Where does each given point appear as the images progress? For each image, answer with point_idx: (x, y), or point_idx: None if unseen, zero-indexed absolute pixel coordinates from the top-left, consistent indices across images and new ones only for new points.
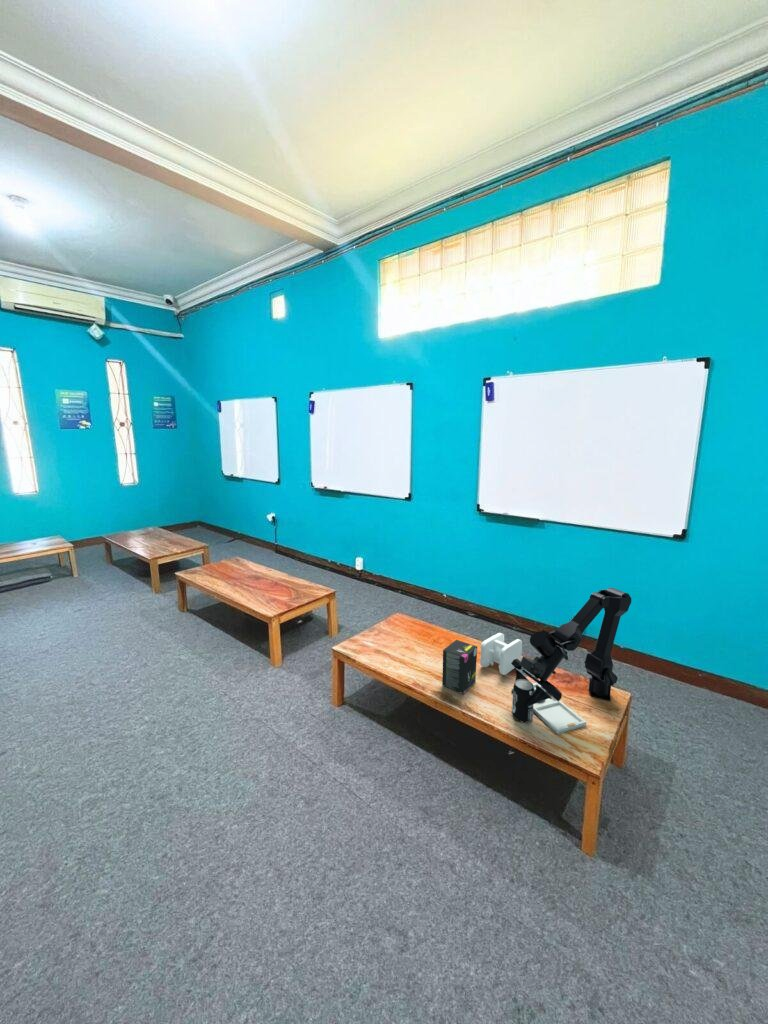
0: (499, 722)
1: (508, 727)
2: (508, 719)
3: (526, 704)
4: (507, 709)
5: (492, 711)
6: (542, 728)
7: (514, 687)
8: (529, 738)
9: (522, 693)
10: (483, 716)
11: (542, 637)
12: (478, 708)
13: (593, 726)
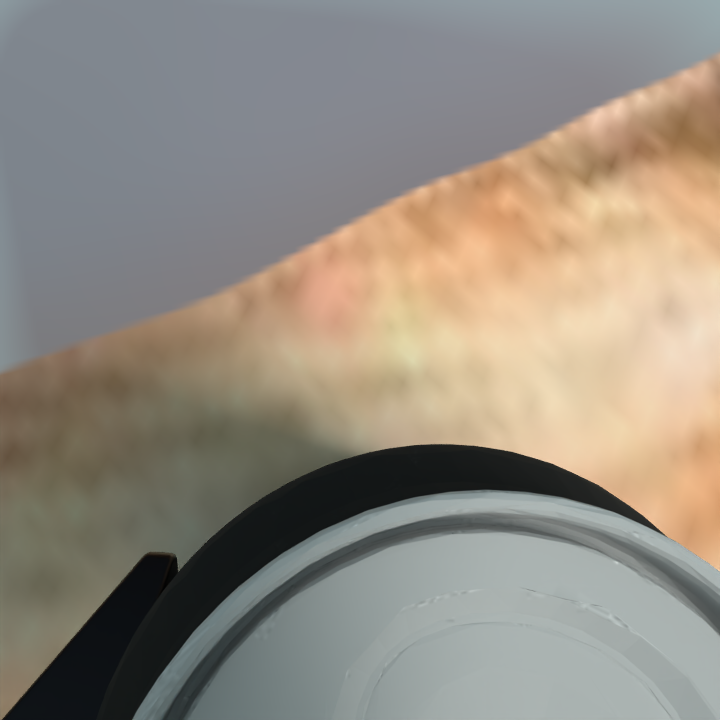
0: (393, 273)
1: (282, 305)
2: (389, 403)
3: (162, 555)
4: None
5: (577, 333)
6: None
7: (584, 487)
8: (24, 389)
9: (239, 524)
10: (544, 188)
11: None
12: (675, 228)
13: None
